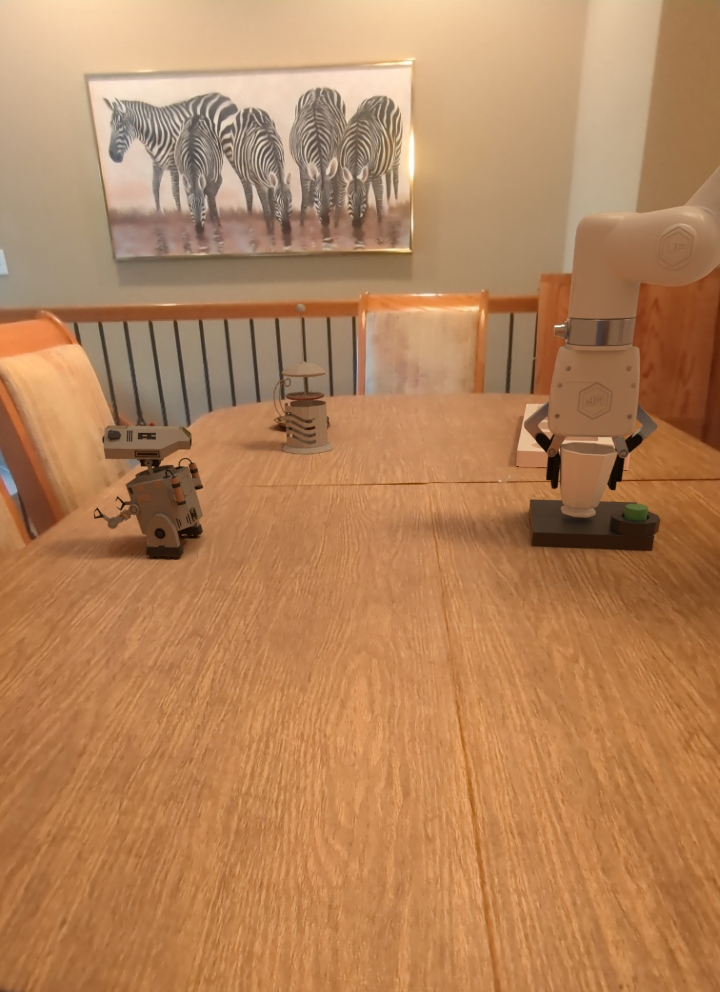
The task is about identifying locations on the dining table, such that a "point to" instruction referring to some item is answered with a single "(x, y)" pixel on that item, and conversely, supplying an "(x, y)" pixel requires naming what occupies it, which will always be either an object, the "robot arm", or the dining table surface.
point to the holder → (532, 451)
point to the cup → (584, 476)
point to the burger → (283, 422)
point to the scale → (590, 527)
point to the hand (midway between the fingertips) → (582, 485)
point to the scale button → (636, 512)
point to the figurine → (157, 486)
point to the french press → (304, 410)
